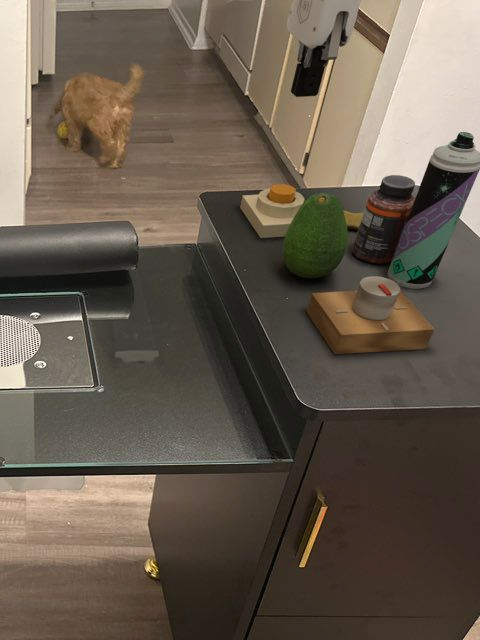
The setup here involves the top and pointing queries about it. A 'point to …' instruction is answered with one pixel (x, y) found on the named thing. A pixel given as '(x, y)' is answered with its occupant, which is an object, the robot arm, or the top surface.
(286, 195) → the button
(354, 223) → the tan elongated lumpy piece
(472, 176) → the spray can
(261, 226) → the button box
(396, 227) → the supplement bottle
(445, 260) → the top surface
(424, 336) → the dial panel
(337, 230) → the fruit
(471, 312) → the top surface
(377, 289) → the knob
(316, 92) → the robot arm
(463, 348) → the top surface
